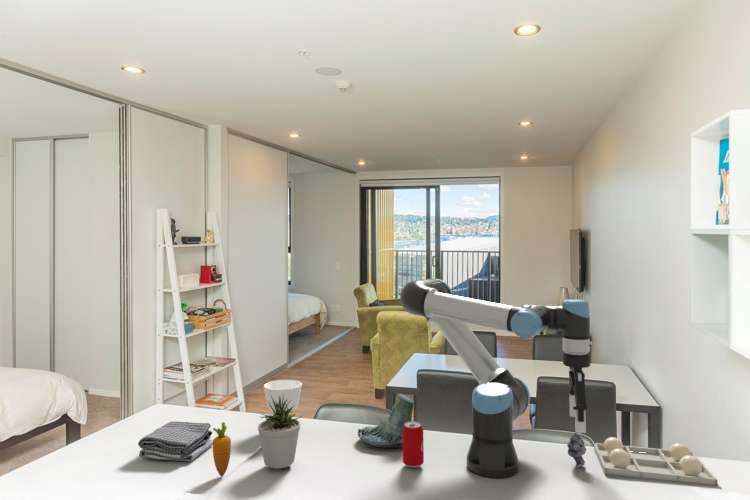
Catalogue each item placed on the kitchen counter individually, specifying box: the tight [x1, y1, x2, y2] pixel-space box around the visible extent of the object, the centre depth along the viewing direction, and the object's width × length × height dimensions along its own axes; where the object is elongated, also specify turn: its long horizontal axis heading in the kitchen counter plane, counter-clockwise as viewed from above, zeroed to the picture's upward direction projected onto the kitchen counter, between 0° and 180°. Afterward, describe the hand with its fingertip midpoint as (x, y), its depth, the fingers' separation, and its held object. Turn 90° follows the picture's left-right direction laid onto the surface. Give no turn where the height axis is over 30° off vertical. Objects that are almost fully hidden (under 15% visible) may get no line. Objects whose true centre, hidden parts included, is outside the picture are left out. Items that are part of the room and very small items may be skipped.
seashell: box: [566, 432, 587, 468], centre depth 146 cm, size 5×5×10 cm
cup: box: [263, 379, 303, 416], centre depth 177 cm, size 14×14×16 cm
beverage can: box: [402, 420, 425, 468], centre depth 147 cm, size 6×6×12 cm
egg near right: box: [679, 455, 702, 476], centre depth 138 cm, size 5×5×5 cm
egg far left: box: [603, 436, 624, 454], centre depth 152 cm, size 5×5×5 cm
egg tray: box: [593, 442, 718, 487], centre depth 145 cm, size 28×19×2 cm
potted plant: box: [257, 393, 304, 469], centre depth 149 cm, size 13×14×20 cm
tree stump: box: [357, 393, 415, 449], centre depth 168 cm, size 18×20×18 cm
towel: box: [138, 420, 213, 463], centre depth 157 cm, size 15×18×8 cm
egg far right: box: [668, 442, 691, 462], centre depth 147 cm, size 5×5×5 cm
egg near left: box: [610, 449, 630, 469], centre depth 143 cm, size 5×5×5 cm
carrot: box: [212, 421, 232, 478], centre depth 140 cm, size 5×5×15 cm
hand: (577, 424), depth 145 cm, fingers open, 13 cm apart
